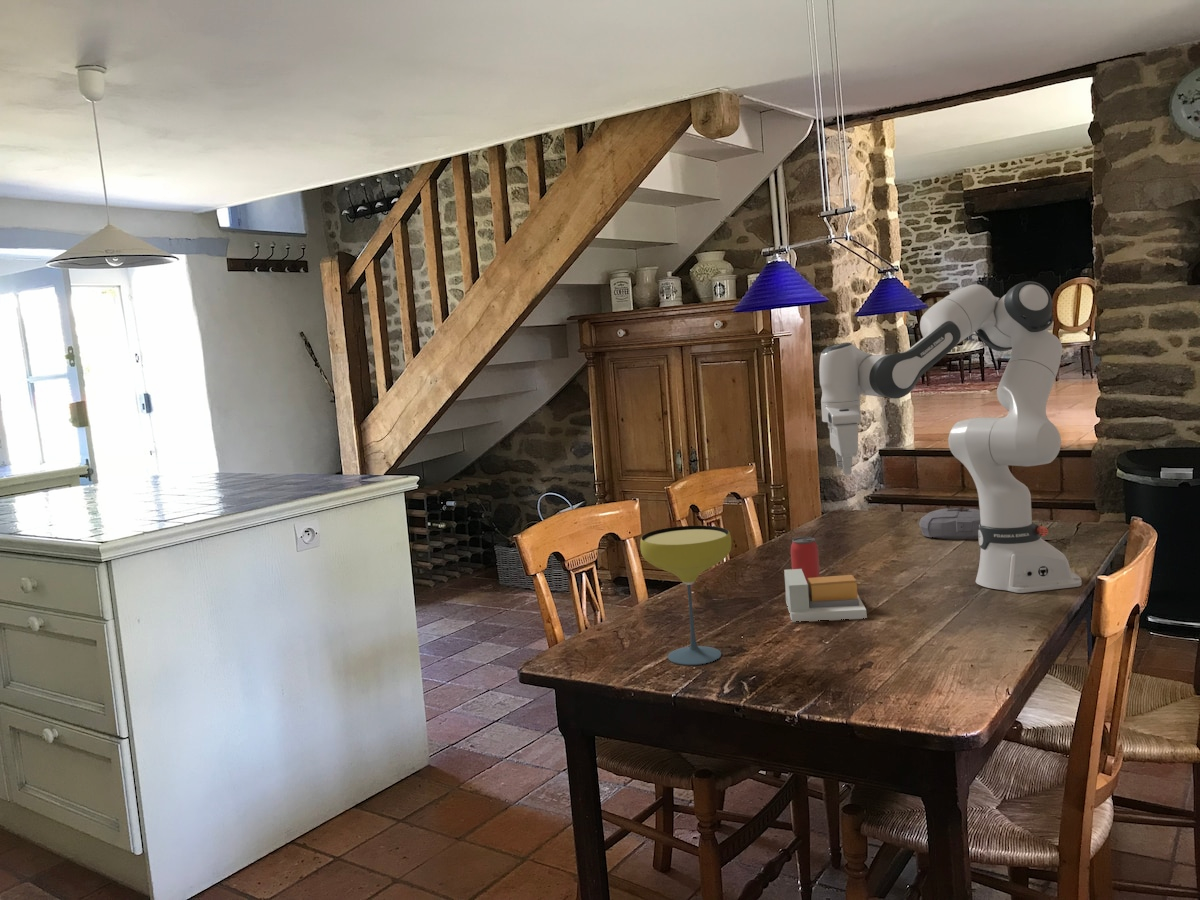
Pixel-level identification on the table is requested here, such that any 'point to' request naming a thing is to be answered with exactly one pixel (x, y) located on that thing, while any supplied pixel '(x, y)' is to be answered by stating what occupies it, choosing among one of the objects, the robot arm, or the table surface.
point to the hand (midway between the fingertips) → (844, 471)
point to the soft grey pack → (951, 523)
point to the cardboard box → (832, 588)
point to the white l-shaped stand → (817, 602)
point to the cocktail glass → (687, 570)
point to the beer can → (805, 556)
